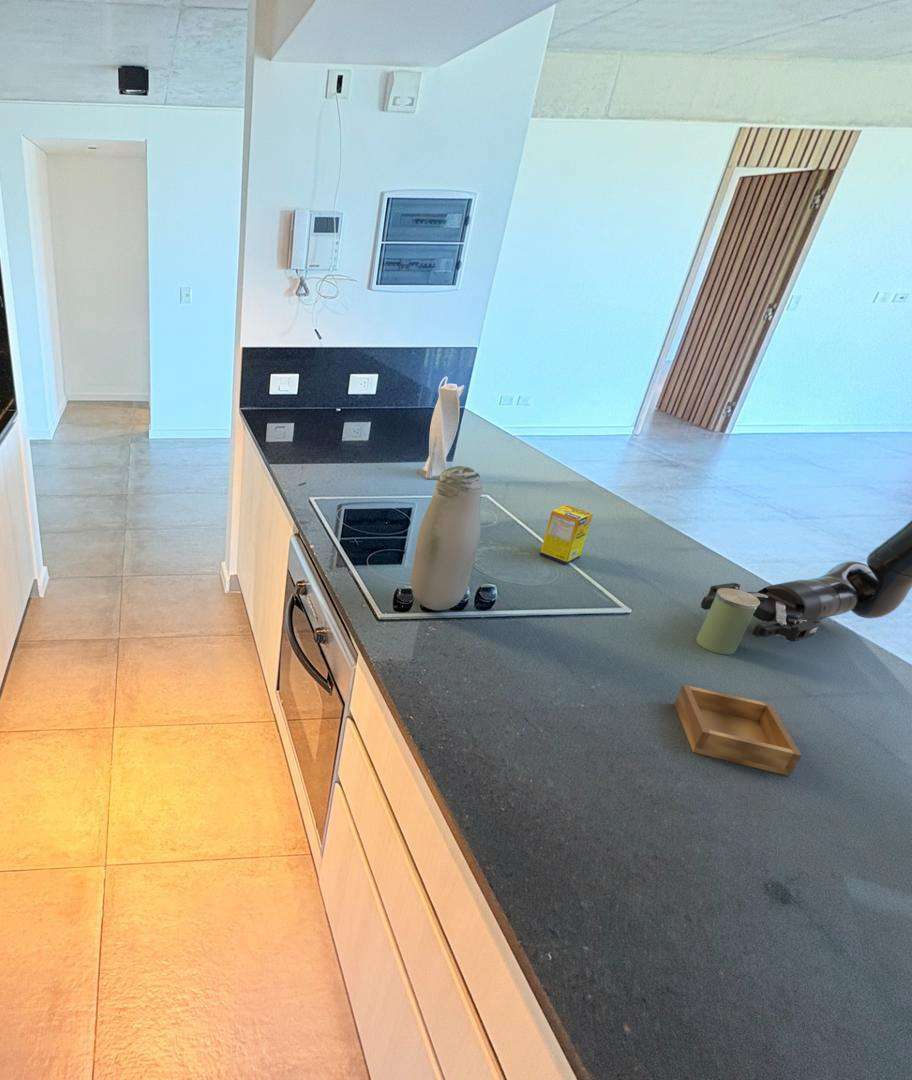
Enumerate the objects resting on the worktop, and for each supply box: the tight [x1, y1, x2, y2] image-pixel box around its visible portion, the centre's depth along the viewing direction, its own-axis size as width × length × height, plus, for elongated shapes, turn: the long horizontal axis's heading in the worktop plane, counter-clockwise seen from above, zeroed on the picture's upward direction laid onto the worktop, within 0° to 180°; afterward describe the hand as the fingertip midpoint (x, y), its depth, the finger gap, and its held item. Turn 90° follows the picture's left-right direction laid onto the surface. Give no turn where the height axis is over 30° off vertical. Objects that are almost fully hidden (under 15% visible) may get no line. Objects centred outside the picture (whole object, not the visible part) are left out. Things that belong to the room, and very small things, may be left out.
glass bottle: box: [410, 465, 483, 611], centre depth 112 cm, size 10×10×28 cm
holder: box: [673, 684, 802, 777], centre depth 87 cm, size 11×11×4 cm
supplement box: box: [539, 504, 594, 566], centre depth 134 cm, size 6×6×11 cm
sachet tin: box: [695, 588, 760, 656], centre depth 105 cm, size 6×6×10 cm
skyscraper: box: [416, 375, 465, 481], centre depth 176 cm, size 8×8×28 cm
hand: (729, 616), depth 104 cm, fingers open, 8 cm apart
